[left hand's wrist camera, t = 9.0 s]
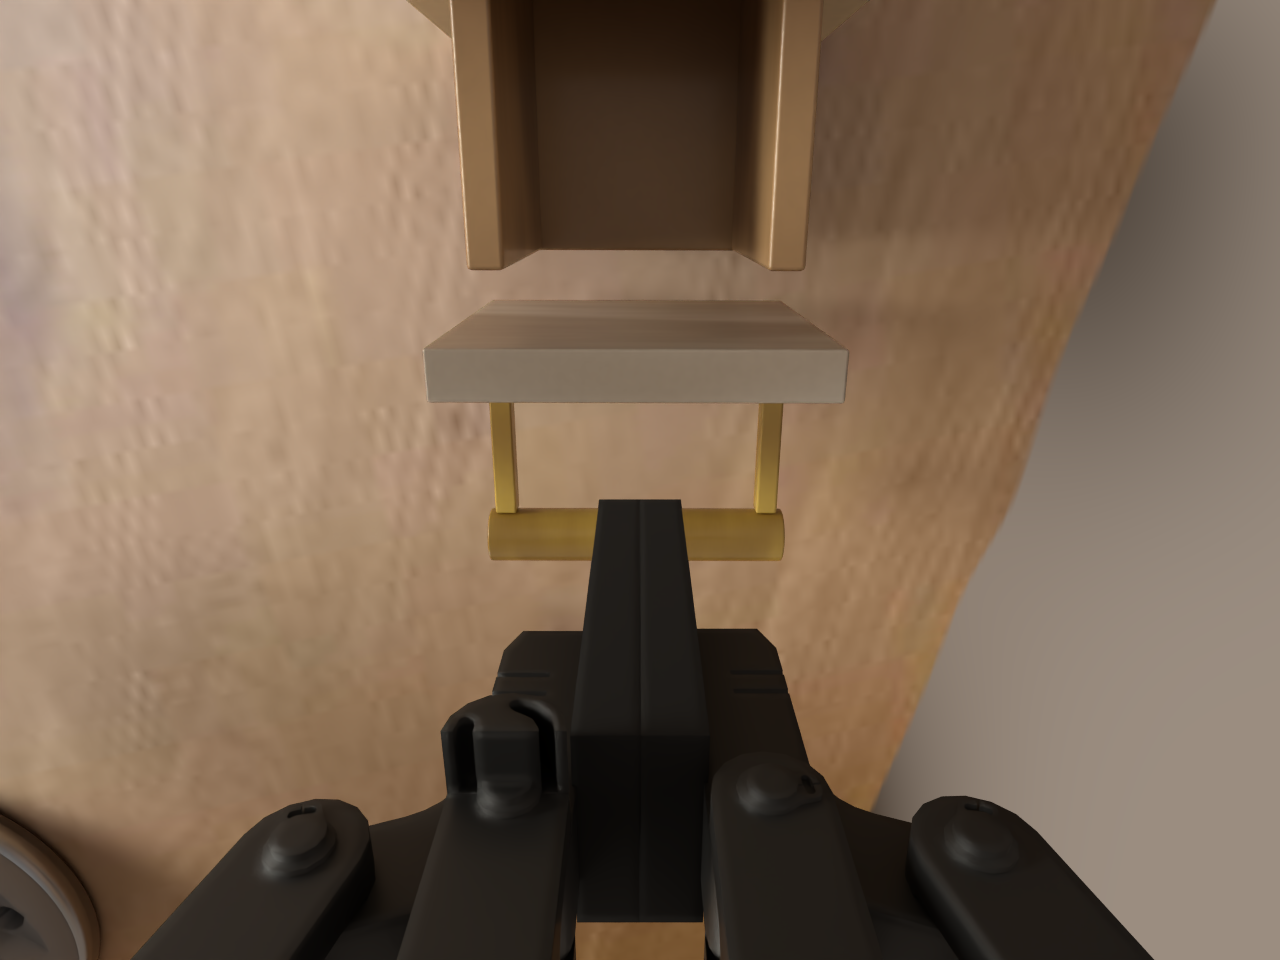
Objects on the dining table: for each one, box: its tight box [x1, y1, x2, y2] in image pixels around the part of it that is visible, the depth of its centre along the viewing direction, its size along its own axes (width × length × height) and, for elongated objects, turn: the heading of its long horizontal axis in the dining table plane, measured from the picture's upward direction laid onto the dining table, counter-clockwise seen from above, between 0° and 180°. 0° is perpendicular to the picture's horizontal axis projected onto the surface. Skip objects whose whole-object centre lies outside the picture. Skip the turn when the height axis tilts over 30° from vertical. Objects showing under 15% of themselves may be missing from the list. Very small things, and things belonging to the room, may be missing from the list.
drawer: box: [423, 0, 849, 561], centre depth 20 cm, size 22×9×9 cm, turn 0°
